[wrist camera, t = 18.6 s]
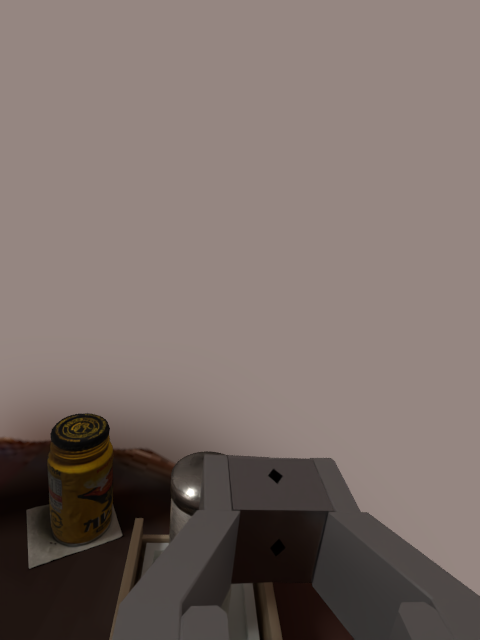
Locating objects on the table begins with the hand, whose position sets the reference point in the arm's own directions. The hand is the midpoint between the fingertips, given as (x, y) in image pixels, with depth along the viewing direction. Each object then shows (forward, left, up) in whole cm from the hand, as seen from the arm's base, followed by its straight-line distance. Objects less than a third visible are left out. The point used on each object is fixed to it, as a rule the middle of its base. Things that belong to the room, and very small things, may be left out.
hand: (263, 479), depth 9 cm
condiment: (-13, +25, -28) cm, 40 cm away
